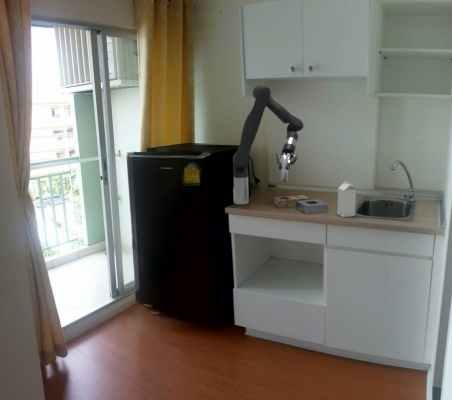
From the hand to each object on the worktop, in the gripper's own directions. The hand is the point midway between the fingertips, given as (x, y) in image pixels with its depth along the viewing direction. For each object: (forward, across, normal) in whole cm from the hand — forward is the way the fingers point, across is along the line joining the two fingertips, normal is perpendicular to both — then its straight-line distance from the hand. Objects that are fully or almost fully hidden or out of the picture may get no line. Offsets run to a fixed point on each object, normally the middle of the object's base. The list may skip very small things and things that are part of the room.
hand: (283, 168), depth 248 cm
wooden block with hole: (+13, +4, +20) cm, 24 cm away
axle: (+4, 0, +7) cm, 8 cm away
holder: (+18, +18, +15) cm, 30 cm away
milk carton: (+22, +39, +12) cm, 46 cm away
